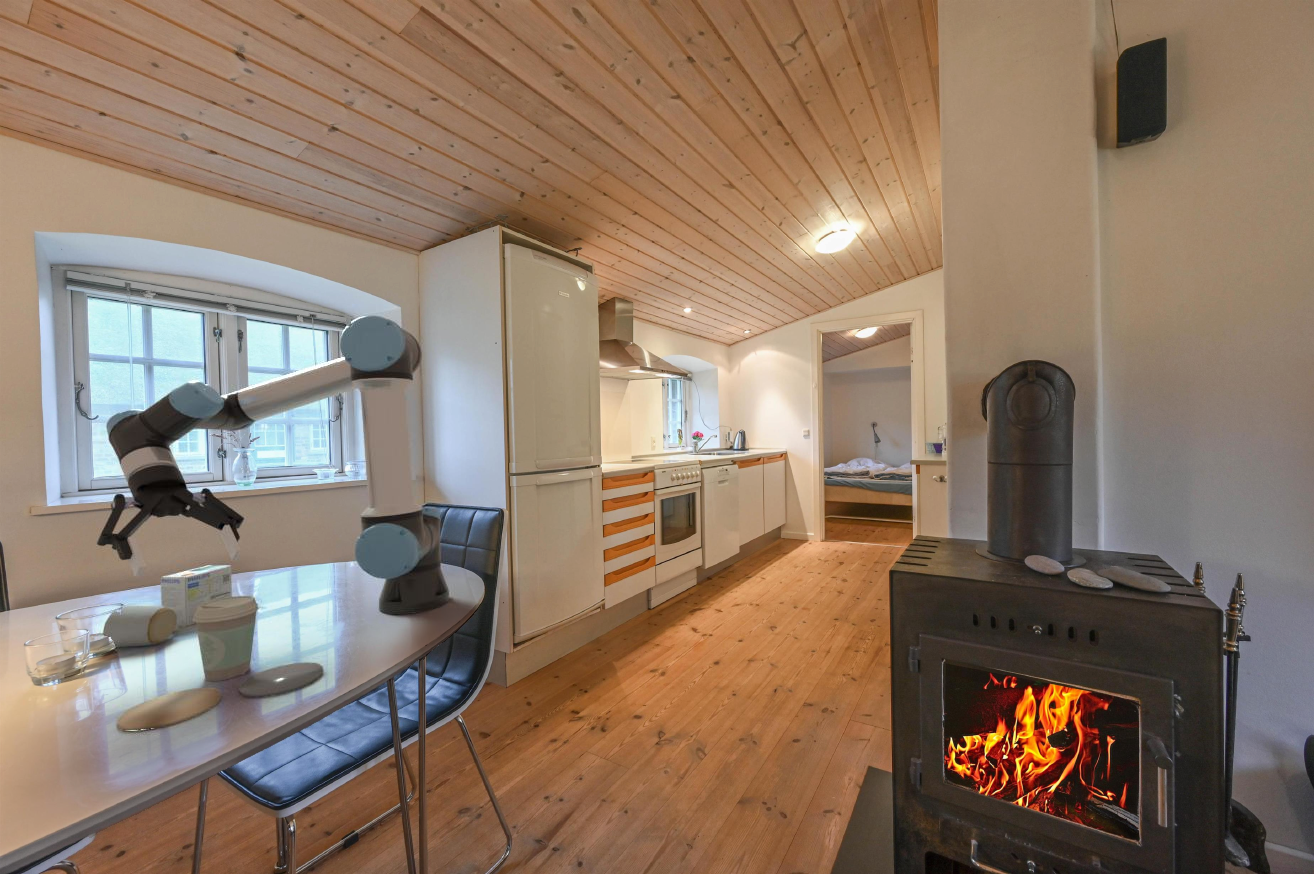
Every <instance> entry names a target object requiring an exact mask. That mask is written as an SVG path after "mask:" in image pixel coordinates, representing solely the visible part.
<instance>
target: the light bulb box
mask: <svg viewBox="0 0 1314 874" xmlns="http://www.w3.org/2000/svg"><path fill="white" fill-rule="evenodd" d="M232 589H233V588H232V565H226V564H225V565H223V564H222V565H218V564H217V565H212V564H211V565H210V564H208V565H205V566H200V567H197V568H192V569H188V570H185V571H180V572H177V573H172V574H169V575H163V576H161V577H160V602H161V605H160V606H164V607H169V608H171V609H173V610H174V612H175V613H176V616H177V622H176V624H179V627H182V628H183V627H184V628H185V627H188V626H191V625H194V624H195V625H196V622H194V621H193V619H194V614H195V613H196V610H197V607H198V606H199V605H201V604H204V603H206V602H209V601H213V600H217V599H222V598H228V597H233V596H232V595H233V594H232V593H233V591H232Z"/></svg>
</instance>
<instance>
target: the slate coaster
mask: <svg viewBox="0 0 1314 874" xmlns="http://www.w3.org/2000/svg"><path fill="white" fill-rule="evenodd" d="M323 674H324V667H323V665H321V664H320V663H317V662H310V661H309V662H305V661H304V662H296V663H289V664H288V663H287V664H284V665H280V666H275V667H272V668H268V669H265V670H263V671H260V672H258V673H256V674H253V675H252V676H249V677H248V678H246V679H245V680H243V681H242V682H241V683H240V684H239V691H238V692H239V694H240V695H241V696H243V697H245V698H253V699H255V698H266V697H275V696H278V695H283V694H287V693H290V692H295V691H297V690H300V689H302V688H304V687H307V686H308V685H311V684H312V683H315V682H316V681H317V680H319V679H320V678H321V677H322V675H323Z"/></svg>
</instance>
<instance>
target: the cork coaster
mask: <svg viewBox="0 0 1314 874" xmlns="http://www.w3.org/2000/svg"><path fill="white" fill-rule="evenodd" d="M221 700H222V691H221V689H217V688H216V687H215V688H213V687H198V688H197V687H196V688H190V689H185V690H179V691H174V692H170V693H167V694H164V695H160V696H157V697H154V698H152V699H149V700H146V701H143V702H141V703H139V704H137V705H136V706H133V707H131V708H130V709H127V710H126V711H125V712H123V713H122V714H121V715H120V716H119V717H118V718H117V727H118V729H119V730H121V729H122V730H121V731H124V730H141V729H151V728H157V729H160V728H159V727H161V728H164V726H165V727H168V726H172V725H175V724H180V723H182V722H185V721H188V720H191V719H192V718H195V717H197V716H200V715H202V714H204V713H205V712H208V711H209V710H211V709H213V708H214V707H216V706H217V705H218V704H219V703H220V702H221ZM151 730H152V729H151Z"/></svg>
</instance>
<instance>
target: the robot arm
mask: <svg viewBox="0 0 1314 874" xmlns="http://www.w3.org/2000/svg"><path fill="white" fill-rule="evenodd" d="M339 338H340V339H339V349H340V353H341V354H342V357H341V358H336V359H334V360H331V361H327V362H324V363H321V364H318V365H314V366H311V367H308V368H305V369H303V370H298V371H296V372H293V373H289V374H286V375H283V376H279V377H277V378H273V379H270V380H267V381H264V382H262V383H258V384H254V385H252V386H249V387H245V388H242V389H240V390H237V391H233V392H230V393H227V394H223V395H220V393H219V392H218V391H217V390H216V389H215V388H213V387H211V386H210V385H208V384H206V383H204V382H202V381H200V380H190V381H187V382H185V383H184V384H182V385H180V386H178V387H175V388H174V389H172V390H171V391H170V392H169V393H167V395H165V396H163V397H162V398H160V399H159V400H157V401H156V402H155V403H153V404H152V405H150V406H149V407H148V408H147V409H145V410H144V409H136V408H135V409H127V410H125V411H123V412H117V413H115V414H114V415H112V416H110V418H109V419H108V420H107V422H106V425H105V426H106V431H107V437H108V441H109V444H110V445H111V447H112V448H113V451H114V453H115V454H116V456H117V457H116V458H117V459H118V461H119V462H118V463H119V465H120V468H121V471H122V473H123V476H124V478H125V480H126V482H127V486H128V488H129V491H130V493H131V495H132V496H125V495H124V494H122V493H117V494H115V495H114V496H113V499H112V501H111V504H110V508H111V513H110V514H109V517H108V519H107V521H106V523H105V524H104V527H103V529H102V531H101V533H100V534H99V538H98V539H97V542H96V544H97V545H98V546H100V547H103V546H104V547H105V546H107V545H110V546H111V549H113V550H114V551H115V550H116V552H117V554H118V557H119V559H120V560H121V561H126V560H127V561H128V564H129V566H130V569H131V571H132V574H133V577H134V578H140V577H141V576H142V575H143V573H144V571H145V569H146V567H147V566H146V563H145V559H144V558H143V556H142V553H141V550H140V548H139V547H140V546H139V545H138V542H137V539H136V538H135V536H133V535H134V534H135V533H136V532H137V530H139V528H140V527H141V526H143V524H144V523H145V522H147V521H148V520H149V519H150V518H151V517H152V516H153V517H156V518H157V519H158V518H164V517H171V516H172V517H175V516H176V517H177V516H180V515H181V516H184V517H185V518H193V519H195V520H196V521H199V522H201V523H204V524H205V525H208V526H209V527H212V528H215V529H217V530H219V531H220V532H219V537H220V539H221V540H222V542H223V545H224V547H225V550H226V551H227V554H228V556H229V559H230V560H231V561H236V560H237V559H238V558H239V556H240V554H241V553H242V549H241V547H240V545H239V543H238V542H239V540H240V538H241V537H240V534H239V532H238V529H239V528H241V526H242V524H243V522H244V520H245V518H244V516H242V515H241V514H239V513H238V512H237V511H236V510H234V509H233V508H231V507H230V506H228V505H227V504H226V503H224V502H223V501H222V500H220V499H218V498H217V497H216V496H214V494H213V493H212V491H211V490H210V489H209V488H206V487H204V488H202V489H201V491H197V492H192V491H190V490H189V489H188V486H187V484H186V481H185V479H184V477H183V475H182V472H181V470H180V467H179V465H178V463H177V461H176V459H175V457H174V455H173V453H172V450H171V448H170V446H171V445H172V444H174V443H175V442H176V441H178V440H179V439H182V438H183V437H184V436H185V435H187V434H189V433H190V432H192V431H193V430H214V431H216V430H217V431H219V430H220V431H229V432H234V431H239V430H240V431H241V430H245V429H248V428H250V427H252V426H253V424H254V423H255V422H257V421H260V420H261V421H262V420H265V419H267V418H269V417H272V416H276V415H279V414H282V413H285V412H288V411H291V410H295V409H298V408H301V407H304V406H306V405H310V404H313V403H316V402H319V401H322V400H326V399H328V398H332V397H334V396H337V395H340V394H344V393H346V392H350V391H353V390H356V389H357V390H358V391H359V393H360V403H361V404H360V405H361V406H360V407H361V416H362V417H361V419H362V431H363V444H364V445H363V446H364V457H365V459H364V461H365V473H366V475H365V476H366V485H367V499H368V502H367V503H368V505H367V507H366V508H365V510H363V511H362V512H361V515H360V519H361V520H360V522H361V534H360V535H359V537H358V538H357V540H356V543H355V546H354V557H355V560H356V563H357V565H358V566H359V567H360V569H362V571H364V572H365V573H367V574H368V575H369V576H371V577H373V578H377V579H384V583H383V586H382V589H381V592H380V594H379V598H378V599H379V600H378V610H379V611H380V612H382V613H384V612H385V614H392V615H400V614H401V615H402V614H403V615H404V614H405V613H406V614H412V613H413V612H415V613H420V611H421V612H425V610H426V611H430V610H432V608H433V609H436V608H439V607H442V606H443V604H444V603H445V604H447V603H448V602H449V601H450V590H449V587H448V584H447V581H446V579H445V578H446V577H445V576H444V573H443V572H442V563H441V562H442V561H441V560H442V558H441V556H442V555H441V554H442V553H441V548H442V547H441V521H442V519H441V513H440V510H439V508H437V507H435V506H426V507H425V506H422V505H419V504H418V503H417V502H416V501H415V499H414V498H415V497H414V485H413V484H414V483H413V469H412V458H411V441H410V429H409V427H410V426H409V415H408V414H409V413H408V401H407V400H408V399H407V390H408V389H409V388H410V387H411V386H412V385H413V383H414V376H413V375H414V373H415V372H416V371H417V370H418V369H419V368H420V366H421V362H422V358H423V355H422V353H423V352H422V348H421V345H420V343H419V341H418V340H417V339H416V338H415V337H414V335H413V334H412V333H410V332H409V331H407V330H405V329H403V328H402V327H401V326H400V325H398V323H396V322H395V321H393V320H391V319H389V318H385V317H382V316H378V315H364V316H360V317H357V318H356V319H354V320H352V321H351V322H350V323H349V324H348V325H347V326H345V328H344V329H343V330H342V333H341V336H340V337H339ZM131 505H132V506H133V507H135V508H137V509H138V510H140V511H138V513H136V514H135V515H134V517H133V518H132V519H130V521H129V522H128V523H127V524H126V525H125V526H124V527H123V528H122V529H120V531H119V532H118V533H114V530H115V528H116V526H117V524H118V522H119V520H120V518H121V516H122V514H123V511H125V510H127V509H128V508H129V507H130V506H131ZM188 507H189V509H187V508H188ZM448 600H449V601H448ZM447 601H448V602H447ZM446 602H447V603H446ZM445 604H444V605H445ZM441 605H442V606H441ZM438 606H439V607H438ZM435 607H436V608H435ZM429 609H430V610H429Z"/></svg>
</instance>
